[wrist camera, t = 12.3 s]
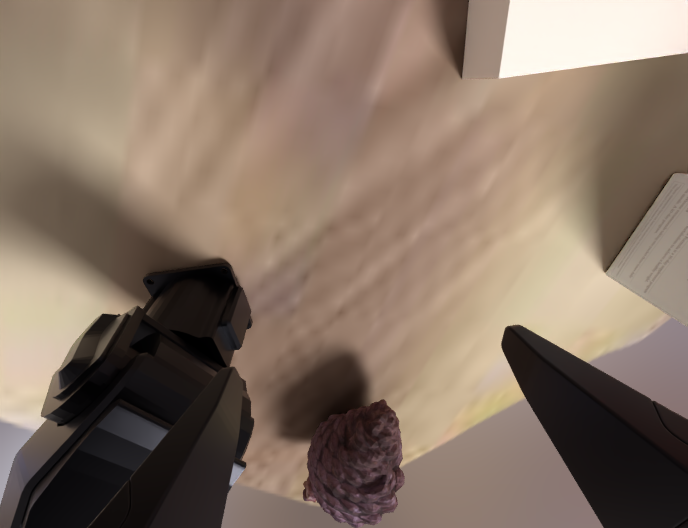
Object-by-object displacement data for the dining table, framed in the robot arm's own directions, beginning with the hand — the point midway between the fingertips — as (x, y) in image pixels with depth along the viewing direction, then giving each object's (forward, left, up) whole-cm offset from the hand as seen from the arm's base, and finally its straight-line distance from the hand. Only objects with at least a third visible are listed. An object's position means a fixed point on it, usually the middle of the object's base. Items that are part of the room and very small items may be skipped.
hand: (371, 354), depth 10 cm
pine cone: (-2, -25, -13) cm, 29 cm away
